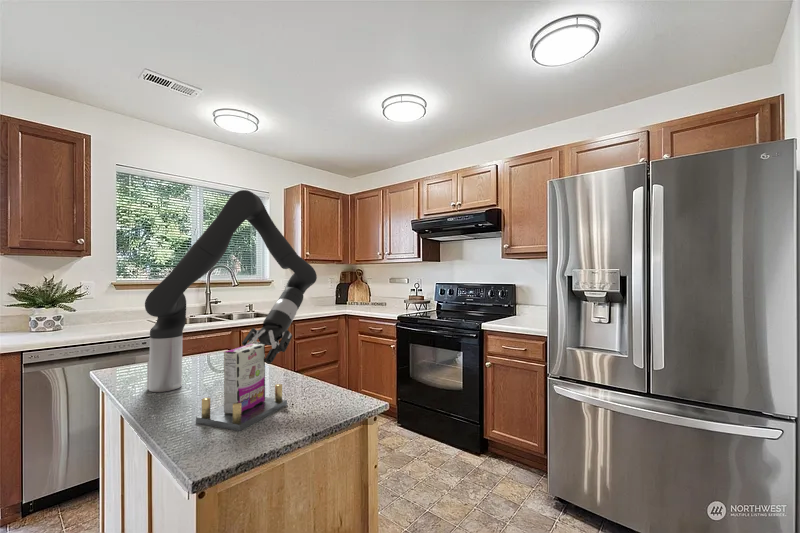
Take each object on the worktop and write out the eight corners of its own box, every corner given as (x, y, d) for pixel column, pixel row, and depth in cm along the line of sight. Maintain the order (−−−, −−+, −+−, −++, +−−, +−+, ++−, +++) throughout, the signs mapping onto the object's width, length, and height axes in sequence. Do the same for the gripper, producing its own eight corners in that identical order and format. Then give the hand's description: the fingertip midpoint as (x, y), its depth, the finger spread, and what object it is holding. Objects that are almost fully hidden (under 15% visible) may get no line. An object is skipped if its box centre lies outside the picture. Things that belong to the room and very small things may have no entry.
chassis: (195, 423, 92) (196, 399, 92) (248, 399, 110) (248, 379, 110) (239, 431, 88) (239, 406, 88) (286, 405, 105) (287, 384, 105)
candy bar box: (250, 399, 105) (251, 343, 106) (265, 401, 104) (266, 344, 104) (222, 413, 95) (222, 350, 95) (238, 415, 93) (238, 352, 94)
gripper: (256, 308, 114) (227, 351, 103) (295, 309, 109) (269, 355, 98) (268, 322, 118) (241, 366, 107) (305, 324, 114) (281, 370, 103)
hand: (254, 361), depth 103 cm, fingers open, 8 cm apart
